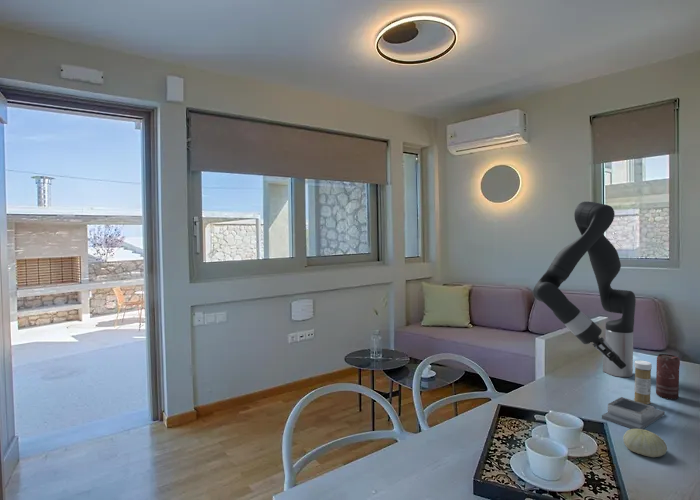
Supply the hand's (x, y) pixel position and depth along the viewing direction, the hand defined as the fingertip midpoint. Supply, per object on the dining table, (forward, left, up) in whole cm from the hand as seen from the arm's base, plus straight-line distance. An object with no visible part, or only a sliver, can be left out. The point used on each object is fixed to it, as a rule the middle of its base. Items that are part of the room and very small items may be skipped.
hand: (620, 363), depth 140 cm
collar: (+8, -12, -11) cm, 19 cm away
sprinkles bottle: (+5, +4, -13) cm, 14 cm away
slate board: (+8, -10, -12) cm, 18 cm away
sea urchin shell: (+18, -29, -13) cm, 37 cm away
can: (+8, +16, -13) cm, 22 cm away
